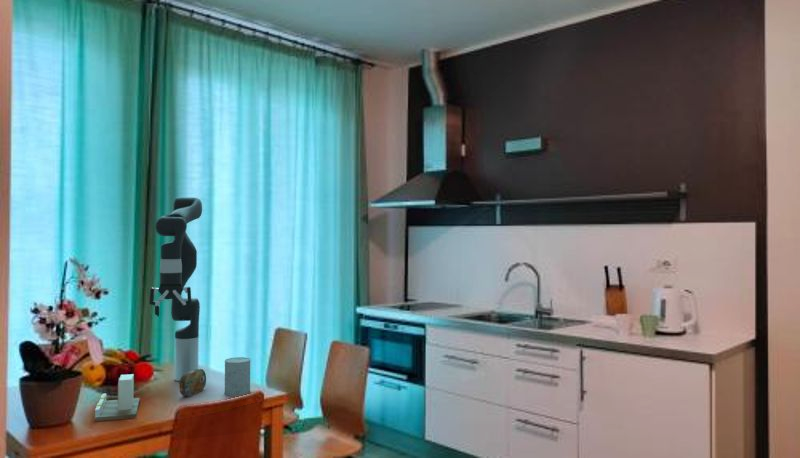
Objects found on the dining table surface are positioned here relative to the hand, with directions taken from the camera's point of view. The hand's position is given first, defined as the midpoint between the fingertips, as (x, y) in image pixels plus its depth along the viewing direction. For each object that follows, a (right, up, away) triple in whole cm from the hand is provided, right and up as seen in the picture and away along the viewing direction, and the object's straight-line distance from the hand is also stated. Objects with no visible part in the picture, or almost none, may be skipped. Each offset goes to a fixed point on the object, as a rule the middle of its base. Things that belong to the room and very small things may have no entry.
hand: (170, 315), depth 217 cm
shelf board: (-11, -30, -16) cm, 36 cm away
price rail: (-16, -29, -18) cm, 38 cm away
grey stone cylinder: (+22, -31, +8) cm, 39 cm away
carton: (-9, -29, -15) cm, 34 cm away
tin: (+6, -31, +6) cm, 32 cm away
